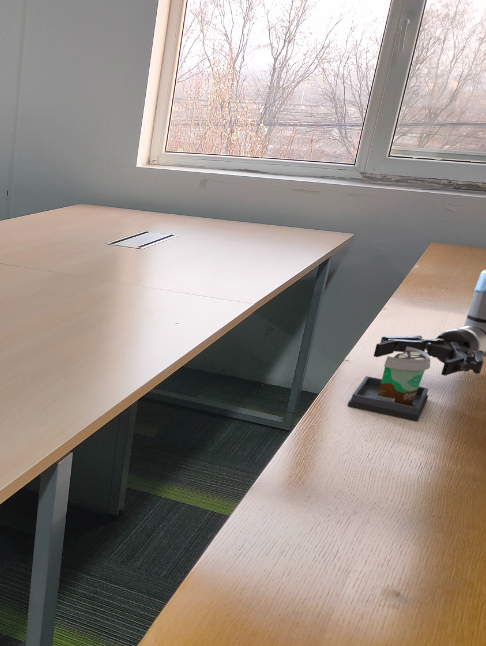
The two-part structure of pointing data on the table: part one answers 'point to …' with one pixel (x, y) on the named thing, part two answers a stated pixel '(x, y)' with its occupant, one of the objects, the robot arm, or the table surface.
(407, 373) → the food container
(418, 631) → the table surface
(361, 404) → the pad
